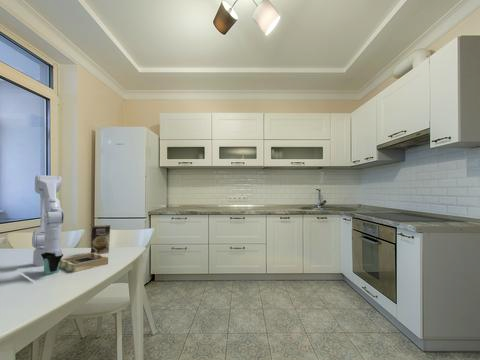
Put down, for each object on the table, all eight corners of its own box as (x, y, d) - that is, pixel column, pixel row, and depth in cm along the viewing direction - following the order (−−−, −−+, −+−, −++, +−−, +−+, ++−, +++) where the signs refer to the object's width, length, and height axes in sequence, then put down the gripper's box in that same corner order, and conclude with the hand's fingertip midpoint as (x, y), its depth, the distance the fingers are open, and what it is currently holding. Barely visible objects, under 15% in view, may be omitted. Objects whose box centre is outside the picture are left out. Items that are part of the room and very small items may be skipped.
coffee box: (90, 256, 131) (91, 227, 132) (91, 253, 137) (92, 225, 138) (109, 254, 136) (110, 226, 136) (109, 251, 141) (110, 224, 142)
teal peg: (43, 275, 102) (44, 258, 102) (54, 272, 105) (55, 256, 106) (47, 276, 100) (48, 260, 100) (58, 274, 103) (59, 258, 103)
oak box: (59, 267, 111) (59, 259, 111) (92, 260, 124) (93, 252, 124) (73, 274, 103) (73, 265, 103) (107, 265, 116) (108, 257, 116)
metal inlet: (70, 265, 112) (70, 260, 112) (89, 261, 119) (89, 256, 119) (78, 269, 108) (78, 263, 108) (97, 264, 115) (97, 259, 115)
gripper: (35, 238, 104) (33, 269, 103) (48, 242, 96) (46, 276, 95) (54, 235, 110) (53, 265, 109) (68, 239, 102) (66, 271, 101)
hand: (51, 270), depth 103 cm, fingers closed on teal peg, 4 cm apart
